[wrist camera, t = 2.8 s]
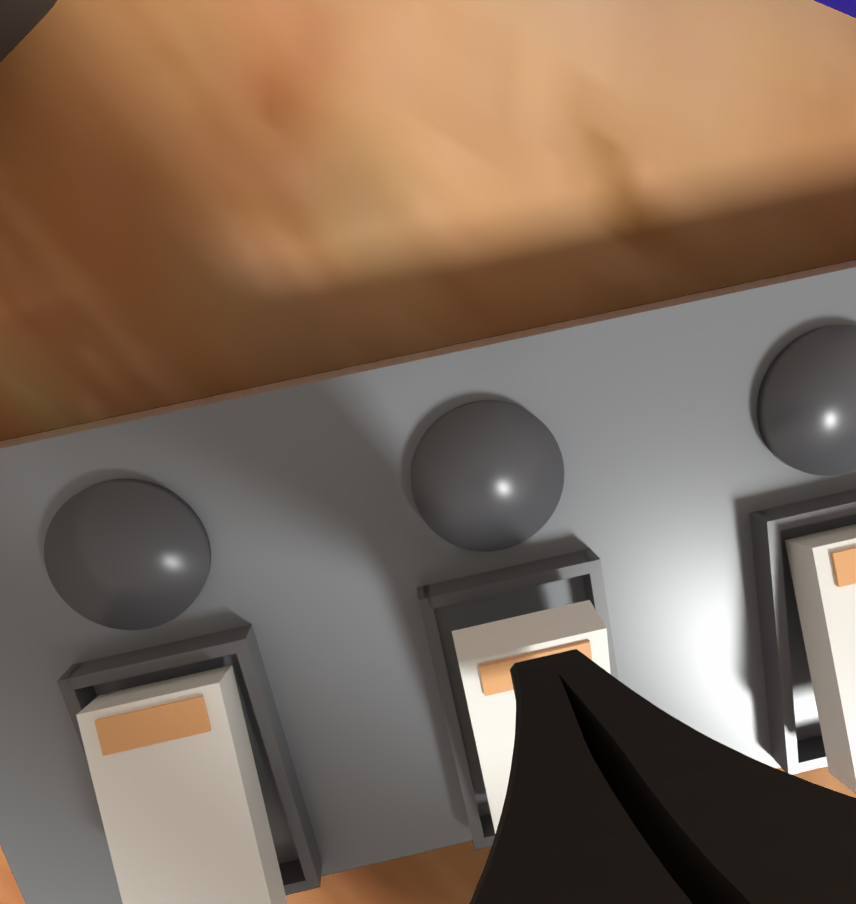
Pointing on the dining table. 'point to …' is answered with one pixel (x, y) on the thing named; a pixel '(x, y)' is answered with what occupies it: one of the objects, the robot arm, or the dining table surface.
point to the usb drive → (19, 21)
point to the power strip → (426, 561)
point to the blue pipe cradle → (841, 6)
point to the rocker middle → (490, 683)
